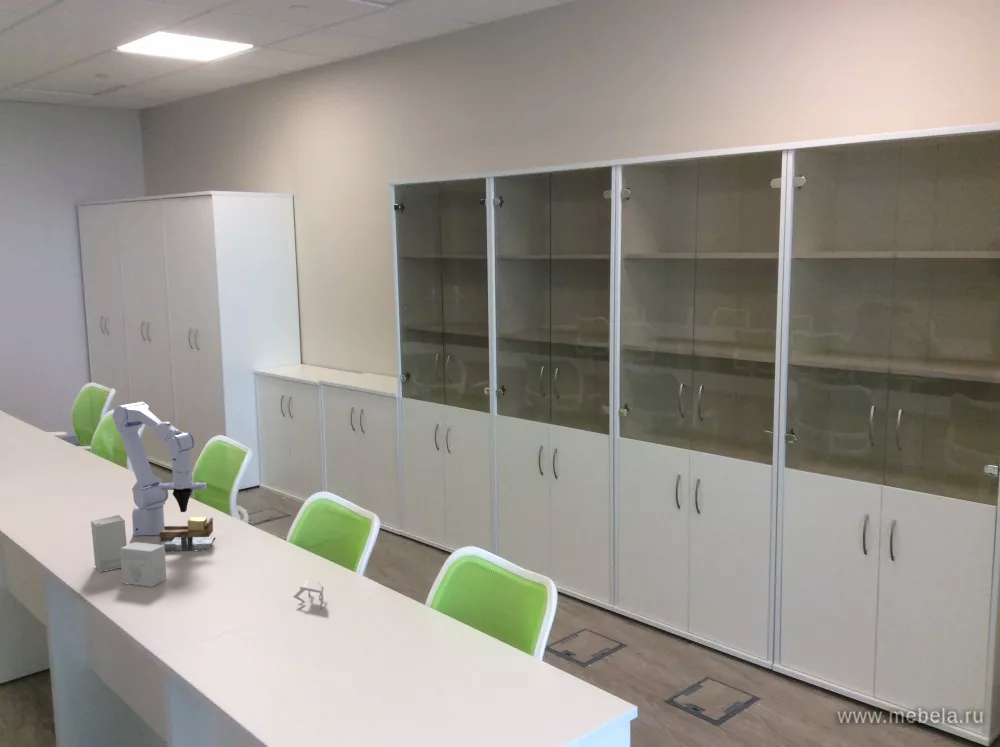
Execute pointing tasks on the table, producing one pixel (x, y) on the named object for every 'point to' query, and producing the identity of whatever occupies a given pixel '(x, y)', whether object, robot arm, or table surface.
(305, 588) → the origami figure
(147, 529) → the robot arm
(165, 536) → the balance beam
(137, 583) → the skincare box
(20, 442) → the table surface
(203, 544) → the pivot stand
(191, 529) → the block
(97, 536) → the skincare box
